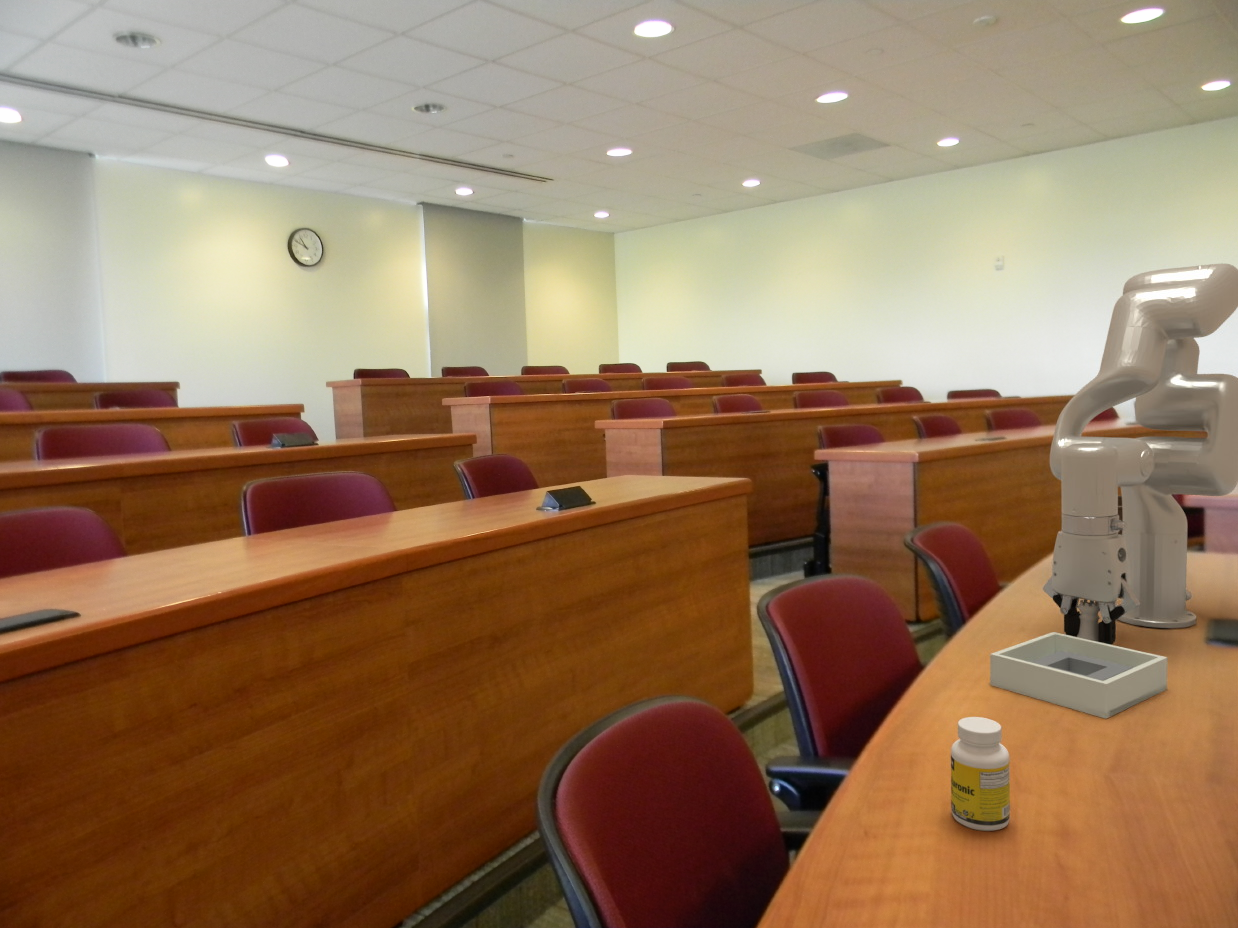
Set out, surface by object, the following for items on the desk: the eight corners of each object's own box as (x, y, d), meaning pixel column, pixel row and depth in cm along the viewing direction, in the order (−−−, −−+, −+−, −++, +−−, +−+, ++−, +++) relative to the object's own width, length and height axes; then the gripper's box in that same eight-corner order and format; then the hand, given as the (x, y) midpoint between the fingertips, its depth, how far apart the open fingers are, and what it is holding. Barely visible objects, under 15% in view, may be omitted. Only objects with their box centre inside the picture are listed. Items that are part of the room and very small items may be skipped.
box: (1052, 660, 132) (1053, 631, 132) (1166, 689, 119) (1167, 657, 119) (990, 684, 123) (990, 653, 123) (1105, 718, 110) (1106, 683, 110)
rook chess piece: (1110, 657, 132) (1110, 605, 131) (1078, 656, 133) (1078, 605, 132) (1100, 647, 136) (1100, 597, 135) (1069, 647, 137) (1069, 597, 136)
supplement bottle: (941, 807, 90) (940, 715, 89) (992, 803, 90) (992, 711, 89) (966, 834, 84) (966, 736, 83) (1020, 830, 85) (1021, 732, 84)
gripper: (1161, 527, 127) (1159, 649, 129) (1049, 515, 141) (1049, 625, 143) (1135, 536, 123) (1134, 661, 125) (1022, 522, 137) (1023, 635, 139)
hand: (1089, 640), depth 134 cm, fingers closed on rook chess piece, 4 cm apart
